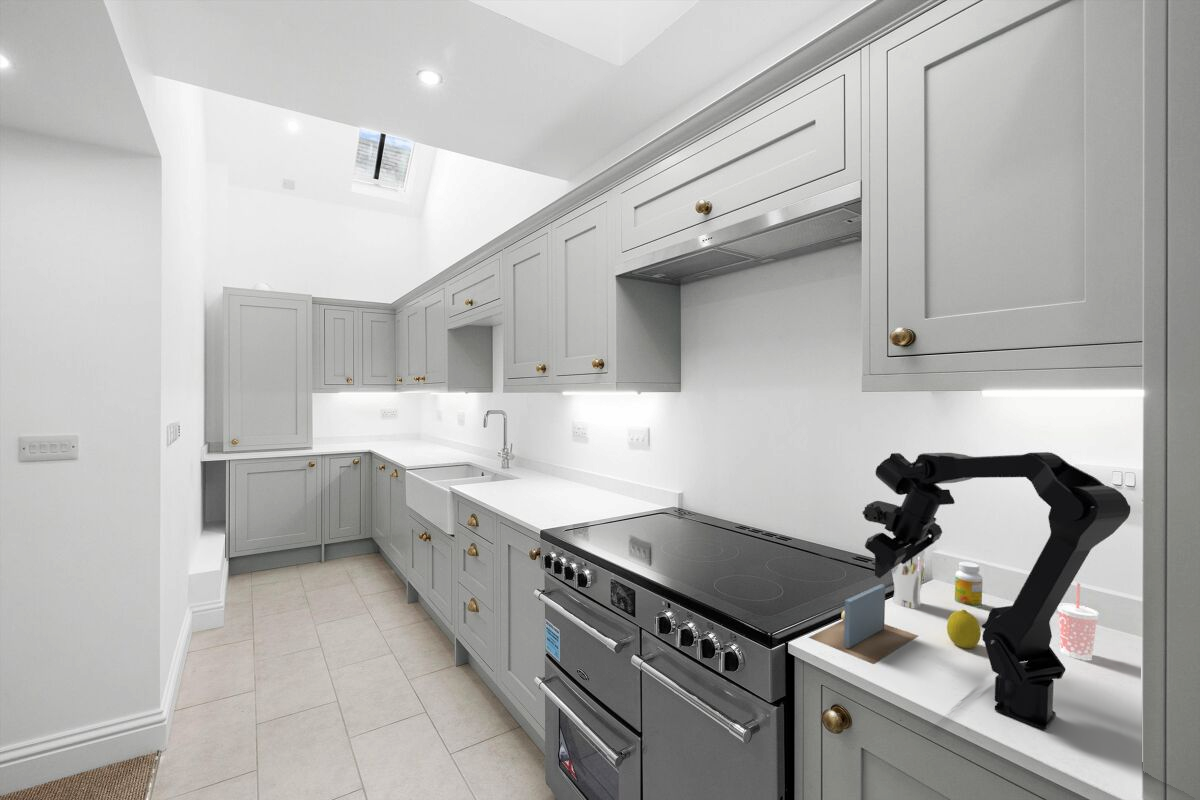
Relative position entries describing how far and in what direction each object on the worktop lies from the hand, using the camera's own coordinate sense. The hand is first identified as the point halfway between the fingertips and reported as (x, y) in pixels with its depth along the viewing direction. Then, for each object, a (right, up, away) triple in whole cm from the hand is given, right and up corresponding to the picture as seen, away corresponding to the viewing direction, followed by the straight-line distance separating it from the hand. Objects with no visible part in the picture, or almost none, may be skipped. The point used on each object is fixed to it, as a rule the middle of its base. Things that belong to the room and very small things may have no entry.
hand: (889, 569), depth 113 cm
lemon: (+11, -14, -6) cm, 19 cm away
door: (-7, -12, -3) cm, 15 cm away
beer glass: (+12, -14, +15) cm, 24 cm away
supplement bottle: (+28, -14, +17) cm, 36 cm away
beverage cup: (+33, -15, -7) cm, 36 cm away
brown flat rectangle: (-7, -14, -3) cm, 16 cm away
